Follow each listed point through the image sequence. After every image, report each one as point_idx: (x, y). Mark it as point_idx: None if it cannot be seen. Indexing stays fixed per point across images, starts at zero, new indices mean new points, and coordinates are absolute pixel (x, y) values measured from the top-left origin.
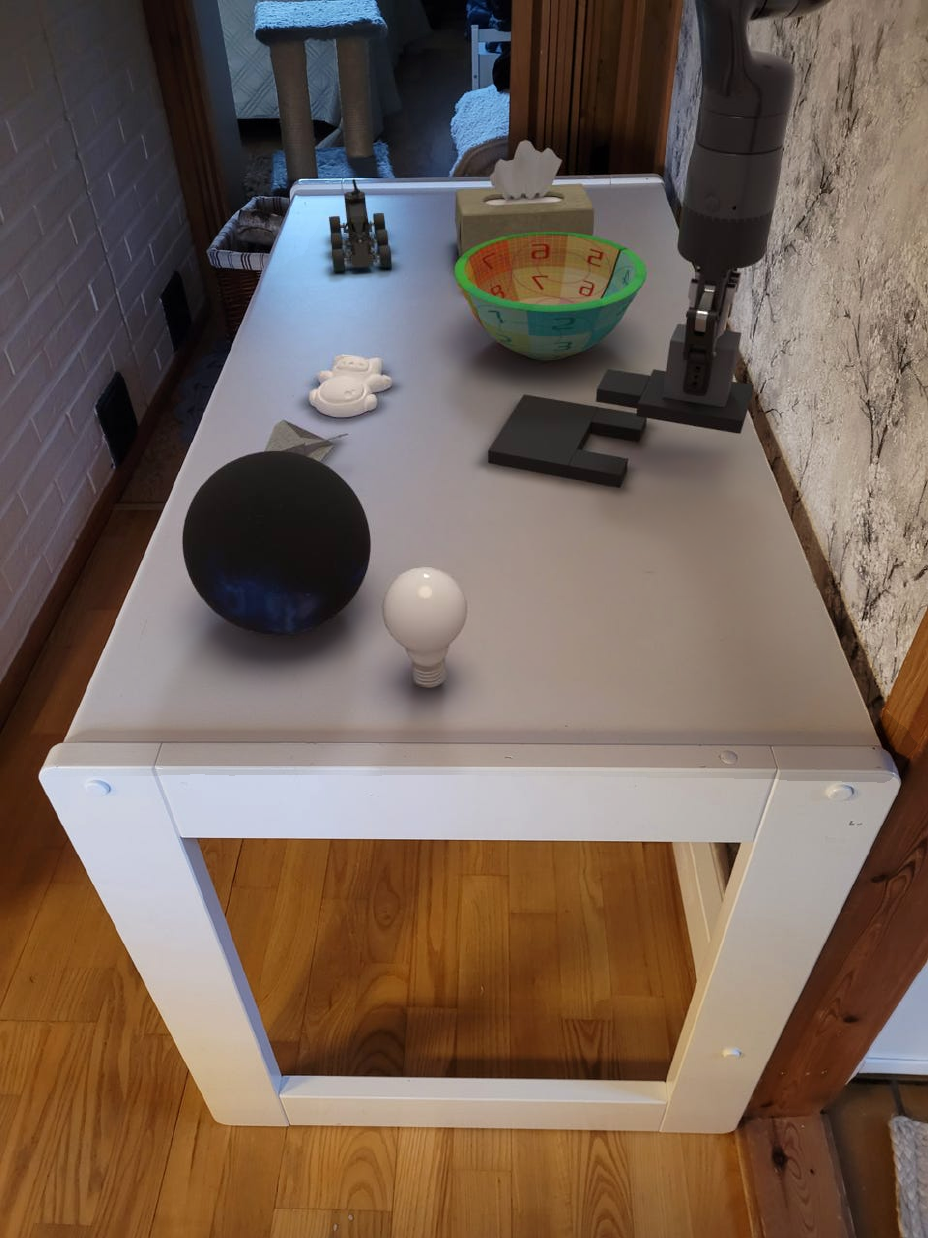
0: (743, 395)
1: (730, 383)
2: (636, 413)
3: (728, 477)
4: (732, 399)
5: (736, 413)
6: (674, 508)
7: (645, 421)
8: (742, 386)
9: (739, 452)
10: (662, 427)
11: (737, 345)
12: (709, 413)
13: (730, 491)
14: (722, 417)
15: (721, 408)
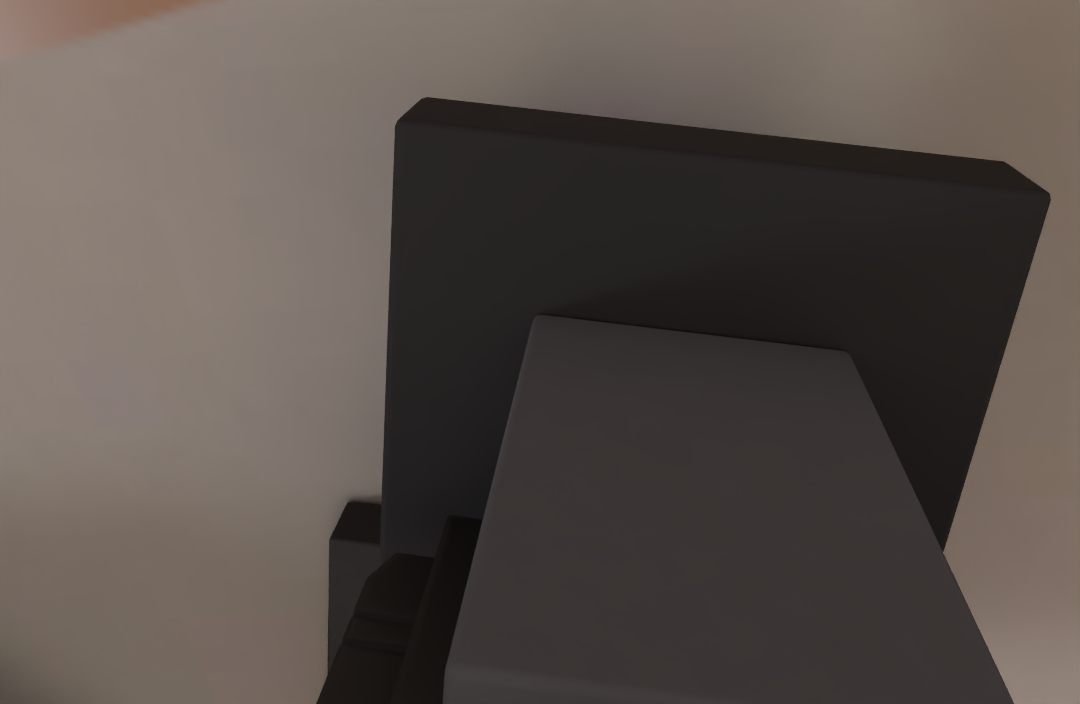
0: (612, 204)
1: (722, 399)
2: (332, 584)
3: (719, 79)
4: (699, 292)
5: (931, 252)
6: (1041, 332)
7: (368, 532)
8: (452, 216)
9: (451, 29)
10: (325, 429)
11: (825, 697)
12: (949, 454)
13: (858, 60)
14: (1001, 358)
15: (859, 371)
